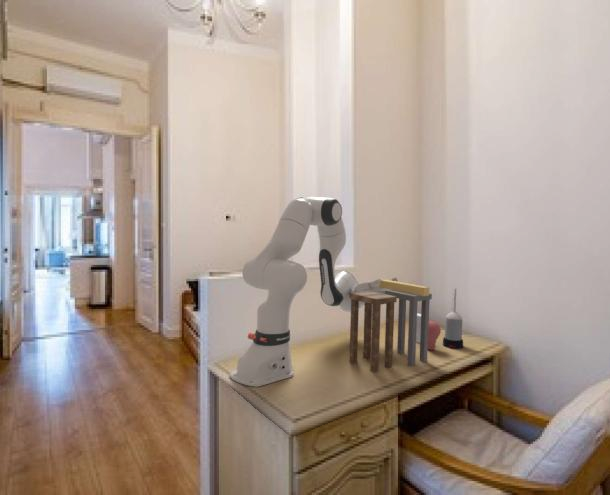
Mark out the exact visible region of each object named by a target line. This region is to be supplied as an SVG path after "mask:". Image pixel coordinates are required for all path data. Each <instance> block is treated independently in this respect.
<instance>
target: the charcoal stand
mask: <svg viewBox="0 0 610 495" xmlns="http://www.w3.org/2000/svg"><path fill="white" fill-rule="evenodd" d="M385 294H387V295H392V296H396V297H397V299H398V315H397V316H398V319H397V320H398V321H397V347H396V348H397V349H396V352H397V354H399V355H403V354H405V349H406V348H405V347H406V343H405V342H406V323H407V322H406V320H407V318H406V316H407V314H406V313H407V301H408V302H409V306H408V307H409V308H408V313H409V314H408V331H407V332H408V335H407V336H408V337H407V339H408V340H407V361H406V362H407V363H406V364H407V366H410V367H413V366H416V353H417V351H416V350H417V349H416V348H417V342H416V329H417V313H418V302H421V309H420V310H421V311H420V312H421V313H420V314H421V334H420V343H419V362H421V363H423V362H424V363H428V355H429V354H428V353H429V352H428V351H429V349H428V328H429V321H430V300H432V298H433V295H432V293H430V292H429V295H428V296H421V295H416V294H411V293H406V292H401V291H395V290H385Z"/></svg>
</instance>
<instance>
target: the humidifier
mask: <svg viewBox="0 0 610 495" xmlns="http://www.w3.org/2000/svg"><path fill="white" fill-rule="evenodd" d="M451 301H452V302H451V304H452V307H451V308H452V309H451V310H452V311H451V312H449V313H447V314H446V316H445V326H444V327H445V328H444V337H443V339H442V346H444V347H446V348H448V349H455V350H460V349H463V348H464V340H463V337H462V336H463V317H462V315H461V314H460V313H458V312H457V311H456V309H457V288H454V290H453V298H452V300H451Z"/></svg>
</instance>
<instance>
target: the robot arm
mask: <svg viewBox="0 0 610 495" xmlns="http://www.w3.org/2000/svg"><path fill="white" fill-rule="evenodd" d="M285 207H286V208H285V209H284V210H283V212H282V215H281V217H280V218H279V221H278V223H277V226H276V228H275V229H274V232H273V234H272V236H271V238H270V239H269V242H268V243H267V244H266V245H265V247H263V249H262V250H261V251H260V252H259V253H258V254H257V255H255V256H254V257H252V258H250V259H248V261H246V262H245V264H244V265H243V268H242V278H243V281H244V282H245V284H247V285H249V286H251V287H253V288H256V289H259V290H266V291H268V294H267V298H266V300H265V301H264V302H262V303H261V304H259V306H258V307H257V312H256V313H257V314H256V316H257V318H256V330H255V332H254V333H252V332H248V334H247V335H246V336H247V339H249V340H252V341H253V342H252V343H250V345H249V346H248V347H247V349H245V350H244V352H243V353H242V354H241V355H239V358H238V360H237V364H236V369H235V370H233V371H230V372H229V378H231V380H233V381H234V382H237V383H238V384H241V385H245V386H249V387H254V388H255V387H256V388H257V387H261V386H265V385H268V384H271V383H275V382H278V381H282V380H287V379H289V378H292V377H294V375H295V374H294V368H293V364H292V356H291V355H292V354H291V347H290V341H291V330H290V313H291V312H290V310H291V306H292V303H293V300H294V298H295V297H296V295H298V293H299V292H301V291H302V290H303V289H304V287H305V286H306V284H307V281H308V275H307V270H306V268H305V267H304V265H302V264H301V263H298V262H295V261H292V260H289V259H290V258H292V257H293V256H295V255H297V254H298V253H299V252H300V251H301V249H302V248H303V244H304V242H305V239H306V238H307V237H306V236H307V234H308V231H309V229H310V226H317V232H318V238H319V253H318V265H319V275H320V291H319V293H320V297H321V299H322V302H324V304H325V305H328V306H331V307H339V308H340V309H341V310H343V311H345V312H350V313H351V299H350V298H349V293H353V292H362V291H373V292H377V293H382V294H385V290H390V289H385V288H380V287H379V284H381V283H382V281H381V280H382V279H379V278H378V279H376V280H374V281H363V282H360V283H358V281H357V280H356V278H355V277H354V275H353V274H352V273H350V272H348V271H345V270H344V271H343V270H341V271H339V272H338V273H337V274H336V272H335V265H336V262H337V259H338V258H339V256H340V254H341V252H342V251H343V249H344V247H345V246H346V240H347V238H346V236H347V234H346V229H345V225H344V221H343V218H342V215H343V208H342V204H341V203H340V202H339V200H338V199H336V198H332V197H318V196H307V197H306V196H305V197H298V198H293V199H292V200H291V201H290V202H289V204H288V205H287V206H285ZM389 280H390V281H396V282H399V280H398V278H397V277H393V278H392V279H389ZM364 306H365V302H362V301H359V309H361V308H363V307H364Z"/></svg>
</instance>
